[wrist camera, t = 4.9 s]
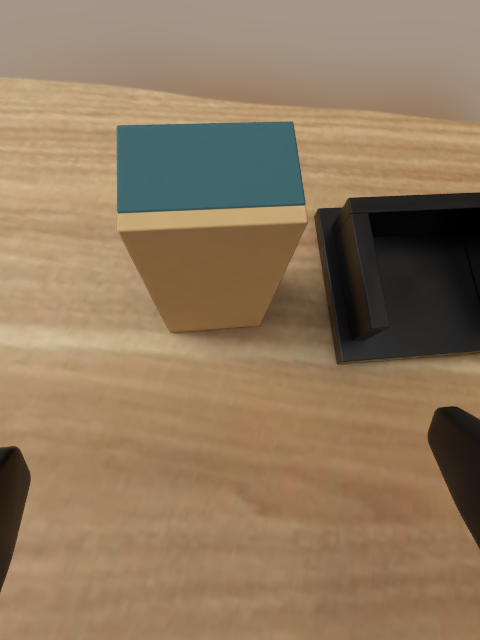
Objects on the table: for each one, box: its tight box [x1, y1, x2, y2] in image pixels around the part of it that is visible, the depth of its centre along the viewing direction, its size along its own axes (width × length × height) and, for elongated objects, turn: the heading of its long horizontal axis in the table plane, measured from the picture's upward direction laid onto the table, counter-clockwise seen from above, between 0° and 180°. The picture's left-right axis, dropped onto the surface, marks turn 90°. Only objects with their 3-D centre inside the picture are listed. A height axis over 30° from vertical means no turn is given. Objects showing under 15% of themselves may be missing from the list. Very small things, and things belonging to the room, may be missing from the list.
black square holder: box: [314, 193, 480, 364], centre depth 22 cm, size 10×11×4 cm
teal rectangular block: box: [117, 122, 308, 332], centre depth 17 cm, size 4×6×12 cm, turn 95°
